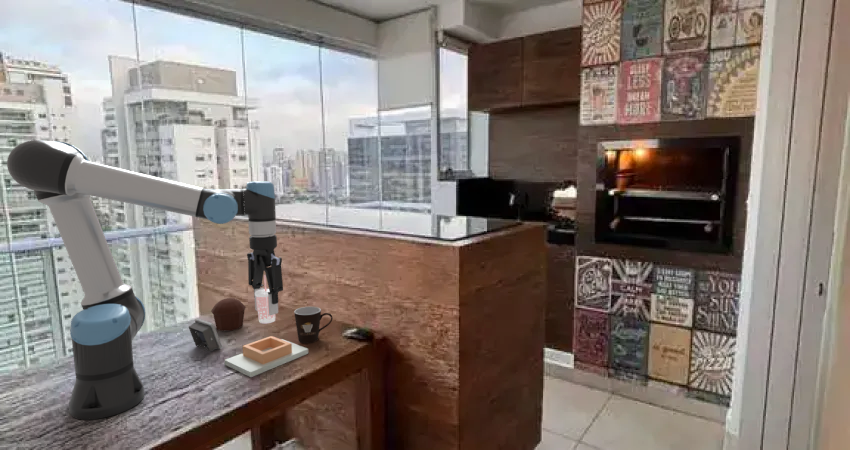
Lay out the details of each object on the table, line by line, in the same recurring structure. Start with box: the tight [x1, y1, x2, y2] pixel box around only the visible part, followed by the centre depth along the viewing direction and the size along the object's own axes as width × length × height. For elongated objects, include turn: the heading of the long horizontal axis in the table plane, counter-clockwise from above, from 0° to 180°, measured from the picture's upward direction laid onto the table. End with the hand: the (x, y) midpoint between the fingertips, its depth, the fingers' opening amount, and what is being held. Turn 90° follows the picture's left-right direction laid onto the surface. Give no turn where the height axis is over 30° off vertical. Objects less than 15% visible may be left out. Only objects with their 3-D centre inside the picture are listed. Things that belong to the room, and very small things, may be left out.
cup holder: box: [224, 335, 309, 378], centre depth 139 cm, size 20×13×4 cm, turn 144°
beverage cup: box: [255, 274, 276, 324], centre depth 137 cm, size 6×6×14 cm
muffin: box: [211, 297, 247, 332], centre depth 165 cm, size 12×11×10 cm
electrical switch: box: [188, 318, 223, 353], centre depth 146 cm, size 9×5×9 cm, turn 57°
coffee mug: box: [293, 306, 333, 344], centre depth 154 cm, size 12×9×10 cm
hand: (266, 311), depth 138 cm, fingers closed on beverage cup, 6 cm apart
